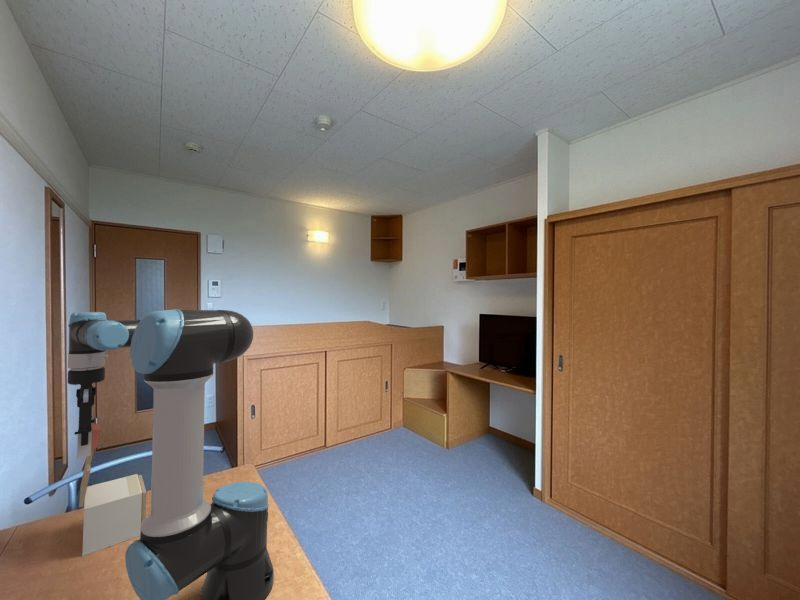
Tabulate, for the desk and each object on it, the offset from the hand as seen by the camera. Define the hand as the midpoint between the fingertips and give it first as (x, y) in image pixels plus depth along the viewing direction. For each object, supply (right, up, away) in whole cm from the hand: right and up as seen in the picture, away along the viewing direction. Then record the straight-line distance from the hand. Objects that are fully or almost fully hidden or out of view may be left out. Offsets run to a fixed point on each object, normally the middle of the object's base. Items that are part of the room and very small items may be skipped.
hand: (84, 452), depth 92 cm
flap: (+1, -3, +1) cm, 3 cm away
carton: (+4, -25, +4) cm, 25 cm away
